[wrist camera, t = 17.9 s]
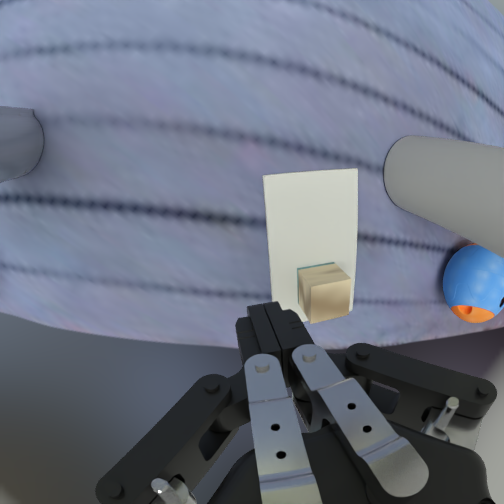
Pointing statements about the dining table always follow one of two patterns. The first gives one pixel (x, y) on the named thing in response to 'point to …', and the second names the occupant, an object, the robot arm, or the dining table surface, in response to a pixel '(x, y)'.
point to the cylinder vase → (450, 186)
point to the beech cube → (323, 291)
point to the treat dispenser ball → (474, 283)
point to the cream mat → (309, 227)
